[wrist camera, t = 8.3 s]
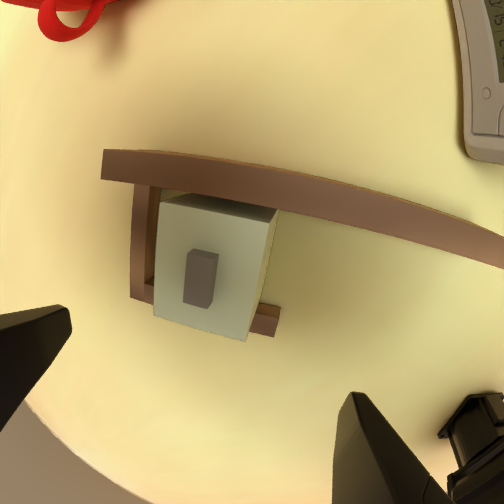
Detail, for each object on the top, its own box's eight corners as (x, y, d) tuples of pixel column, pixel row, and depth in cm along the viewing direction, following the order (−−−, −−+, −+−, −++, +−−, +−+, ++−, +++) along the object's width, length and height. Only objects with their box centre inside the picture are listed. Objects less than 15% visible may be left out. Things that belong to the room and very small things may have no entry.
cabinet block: (262, 291, 19) (242, 351, 13) (192, 274, 20) (146, 322, 14) (280, 204, 17) (266, 227, 11) (203, 189, 18) (151, 204, 12)
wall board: (422, 351, 19) (447, 402, 13) (140, 289, 21) (95, 327, 15) (472, 222, 15) (523, 246, 10) (150, 150, 18) (93, 148, 12)
